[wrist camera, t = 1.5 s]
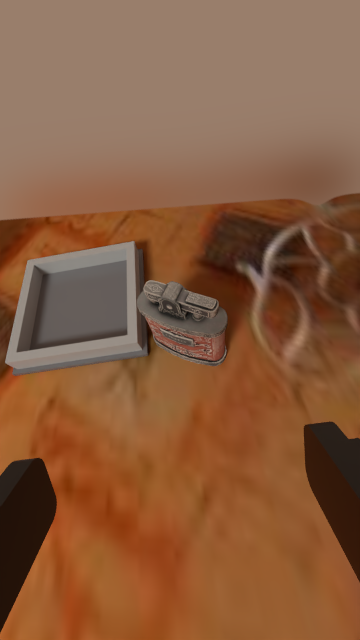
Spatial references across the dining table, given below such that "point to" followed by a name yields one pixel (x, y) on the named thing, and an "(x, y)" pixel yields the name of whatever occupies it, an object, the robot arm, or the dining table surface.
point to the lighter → (185, 322)
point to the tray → (79, 310)
